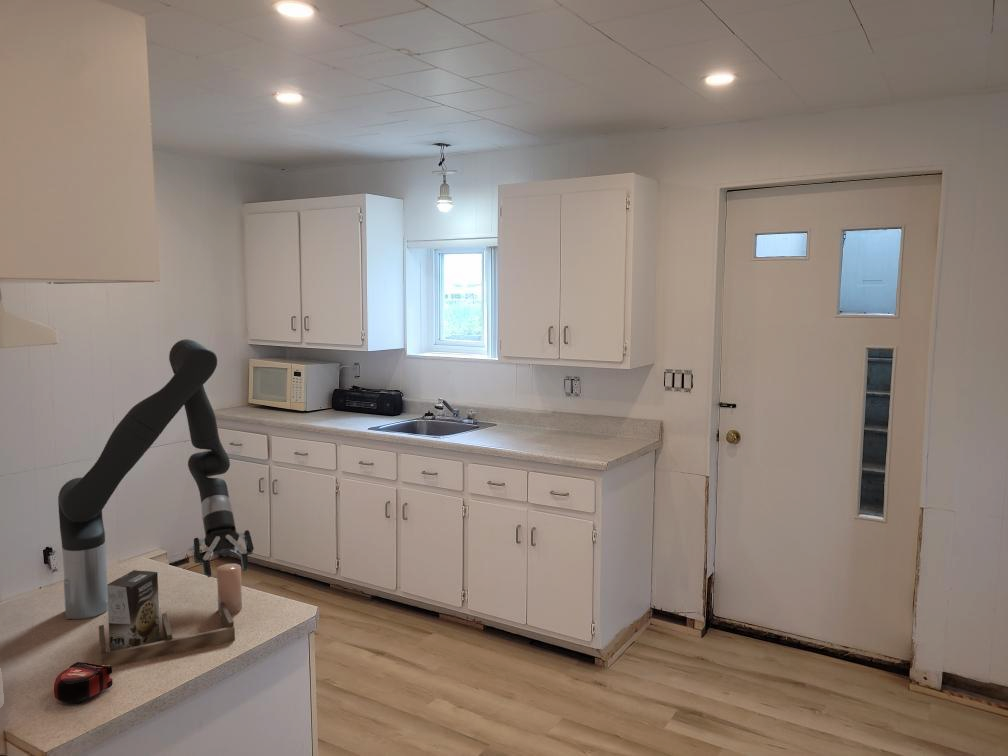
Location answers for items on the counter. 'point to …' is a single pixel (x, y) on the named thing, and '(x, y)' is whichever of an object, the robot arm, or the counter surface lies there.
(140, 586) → the coffee box
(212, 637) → the wooden rack
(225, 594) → the pink rounded cylinder
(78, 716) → the counter surface
